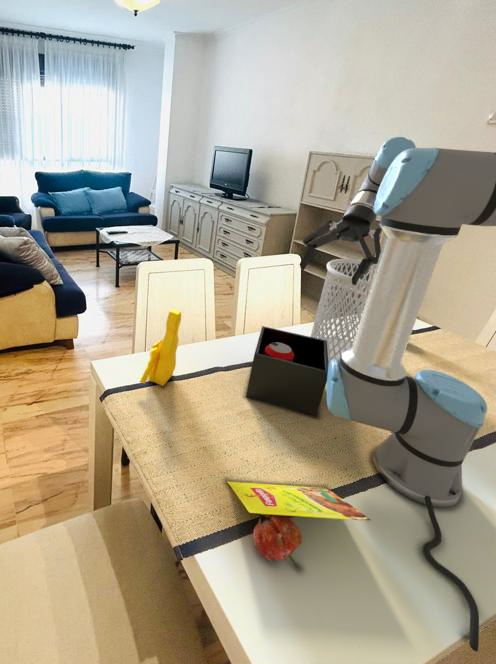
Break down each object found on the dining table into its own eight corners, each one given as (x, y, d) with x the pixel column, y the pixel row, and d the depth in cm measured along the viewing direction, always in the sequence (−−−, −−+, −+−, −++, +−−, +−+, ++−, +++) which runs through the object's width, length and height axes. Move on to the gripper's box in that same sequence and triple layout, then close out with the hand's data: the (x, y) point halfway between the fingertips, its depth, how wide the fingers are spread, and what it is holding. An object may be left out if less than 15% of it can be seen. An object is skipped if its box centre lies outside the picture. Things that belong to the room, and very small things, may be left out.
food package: (372, 517, 63) (249, 509, 63) (372, 524, 62) (249, 516, 62) (325, 485, 78) (226, 478, 78) (325, 491, 77) (226, 484, 78)
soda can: (270, 373, 114) (278, 338, 109) (291, 388, 108) (301, 351, 103) (252, 380, 110) (259, 344, 105) (273, 395, 104) (282, 357, 99)
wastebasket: (408, 375, 118) (443, 284, 106) (341, 383, 112) (371, 288, 100) (349, 336, 140) (373, 257, 128) (290, 341, 134) (310, 259, 122)
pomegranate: (294, 551, 67) (259, 497, 70) (325, 552, 62) (286, 493, 65) (270, 583, 63) (234, 524, 66) (301, 587, 58) (260, 522, 60)
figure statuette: (162, 360, 118) (168, 294, 109) (186, 369, 114) (194, 301, 106) (133, 390, 103) (137, 317, 95) (159, 401, 100) (166, 326, 92)
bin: (316, 417, 97) (329, 373, 92) (245, 397, 103) (254, 354, 98) (315, 380, 112) (327, 340, 107) (254, 364, 119) (262, 326, 113)
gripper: (414, 230, 100) (378, 296, 96) (319, 213, 117) (285, 268, 112) (415, 211, 94) (377, 281, 90) (315, 196, 111) (279, 254, 107)
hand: (326, 274), depth 101 cm, fingers open, 13 cm apart
